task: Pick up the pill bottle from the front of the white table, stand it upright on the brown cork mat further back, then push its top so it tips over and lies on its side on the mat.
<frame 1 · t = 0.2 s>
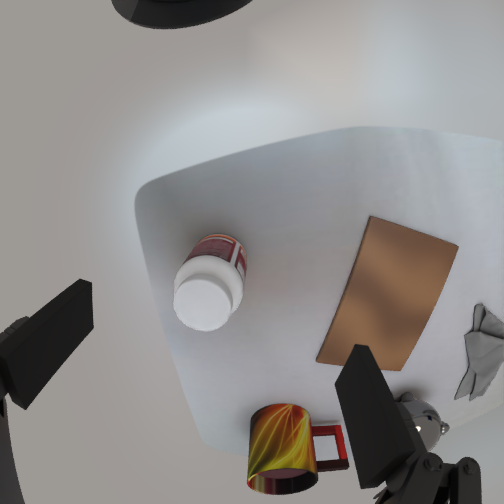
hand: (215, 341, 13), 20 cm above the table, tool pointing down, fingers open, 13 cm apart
pill bottle: (220, 258, 33), on the table
cork mat: (390, 305, 34), on the table
mug: (292, 418, 41), on the table
cloth: (486, 353, 37), on the table
piggy bank: (391, 408, 40), on the table
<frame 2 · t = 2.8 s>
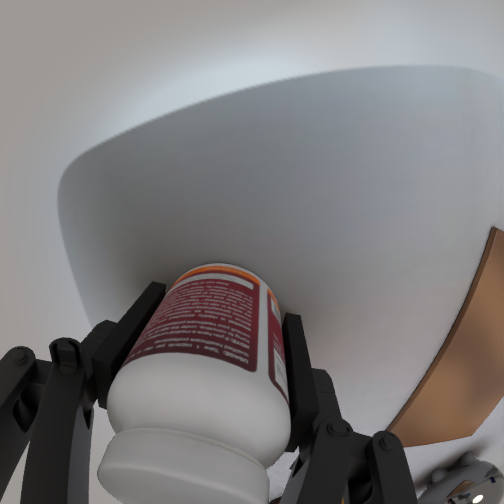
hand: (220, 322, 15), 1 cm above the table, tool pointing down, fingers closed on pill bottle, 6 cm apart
pill bottle: (223, 311, 16), on the table, touching gripper
cork mat: (486, 362, 17), on the table
piggy bank: (446, 469, 23), on the table
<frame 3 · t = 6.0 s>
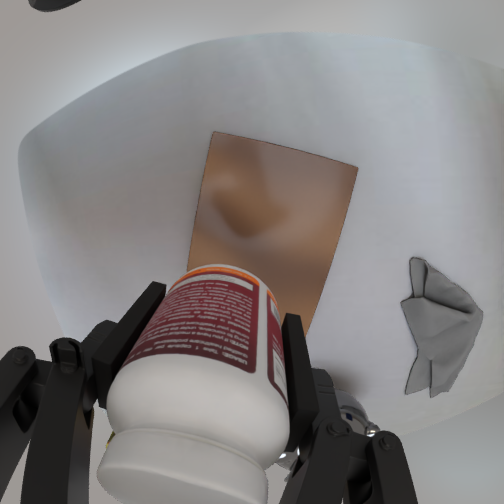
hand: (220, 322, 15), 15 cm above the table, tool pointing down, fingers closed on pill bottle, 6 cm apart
pill bottle: (223, 312, 16), point 14 cm above the table, touching gripper
cork mat: (262, 247, 29), on the table
cloth: (444, 333, 32), on the table
piggy bank: (308, 397, 35), on the table
when the fingers open (1 cm above the table, at t = 9.4 s): pill bottle stays where it is, resting on cork mat.
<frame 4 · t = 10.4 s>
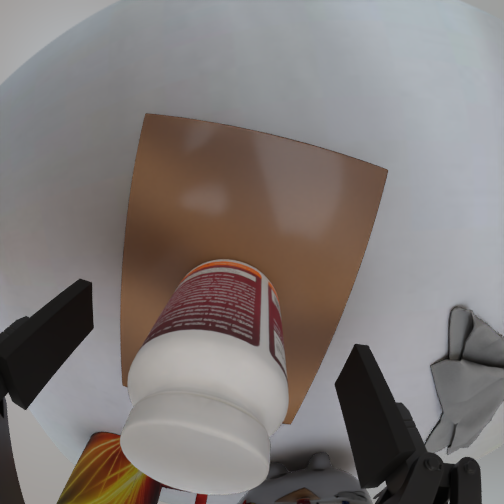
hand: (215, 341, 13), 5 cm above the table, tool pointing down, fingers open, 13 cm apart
pill bottle: (228, 303, 17), resting on cork mat
cork mat: (229, 299, 18), on the table
mug: (141, 456, 25), on the table
cloth: (475, 390, 21), on the table
piggy bank: (299, 469, 24), on the table
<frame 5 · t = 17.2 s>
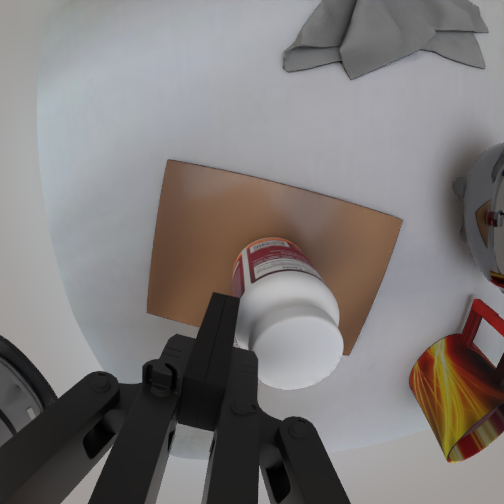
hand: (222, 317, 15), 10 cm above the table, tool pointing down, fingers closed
pill bottle: (270, 270, 24), point 1 cm above the table, touching cork mat, gripper
cork mat: (269, 267, 24), on the table
mug: (441, 353, 27), on the table
cloth: (397, 11, 17), on the table
piggy bank: (477, 206, 22), on the table
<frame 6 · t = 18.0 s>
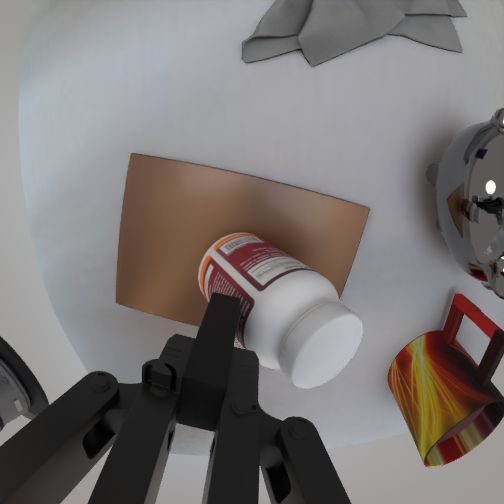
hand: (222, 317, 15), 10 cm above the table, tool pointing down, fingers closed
pill bottle: (233, 267, 22), point 2 cm above the table, touching cork mat
cork mat: (230, 258, 24), on the table
mug: (422, 351, 27), on the table
piggy bank: (456, 194, 22), on the table
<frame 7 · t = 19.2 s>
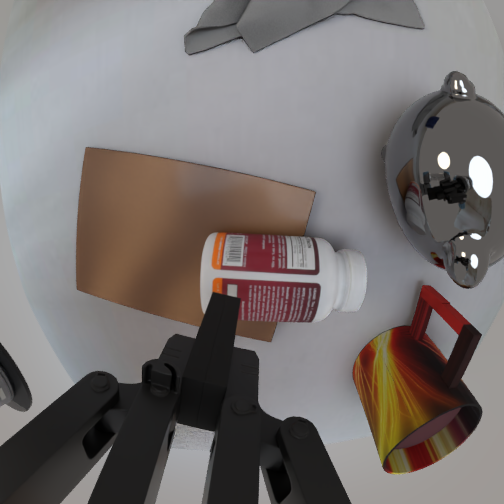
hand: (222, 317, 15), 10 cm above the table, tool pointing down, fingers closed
pill bottle: (203, 274, 21), point 4 cm above the table, touching cork mat
cork mat: (176, 245, 24), on the table
mug: (390, 348, 27), on the table
piggy bank: (419, 177, 22), on the table
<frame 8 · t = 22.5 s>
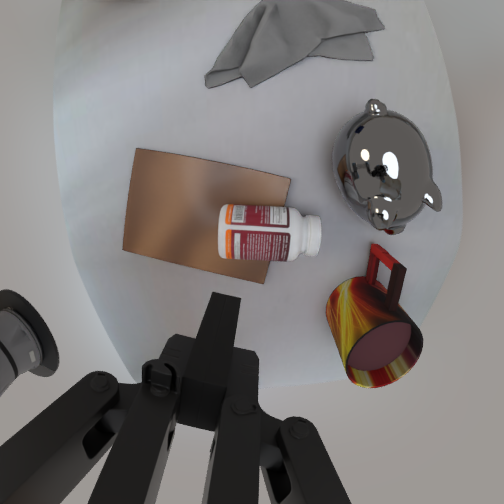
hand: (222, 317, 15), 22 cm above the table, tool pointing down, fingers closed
pill bottle: (218, 230, 33), point 4 cm above the table, touching cork mat
cork mat: (199, 214, 36), on the table
mug: (354, 294, 39), on the table
cloth: (293, 29, 28), on the table
piggy bank: (365, 168, 34), on the table
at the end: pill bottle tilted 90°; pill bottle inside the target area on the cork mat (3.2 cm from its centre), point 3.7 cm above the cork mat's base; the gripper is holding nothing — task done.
